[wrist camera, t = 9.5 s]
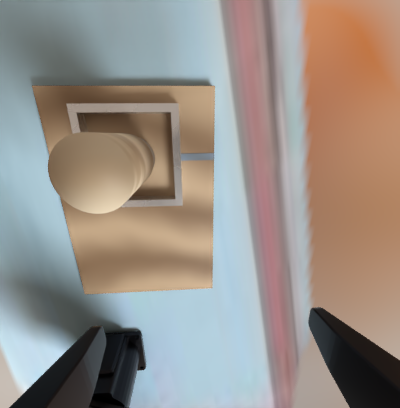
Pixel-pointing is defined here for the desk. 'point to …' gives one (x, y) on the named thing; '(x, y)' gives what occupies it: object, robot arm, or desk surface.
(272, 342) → the desk surface
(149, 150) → the beige rounded cylinder
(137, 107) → the collar
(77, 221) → the subfloor panel
